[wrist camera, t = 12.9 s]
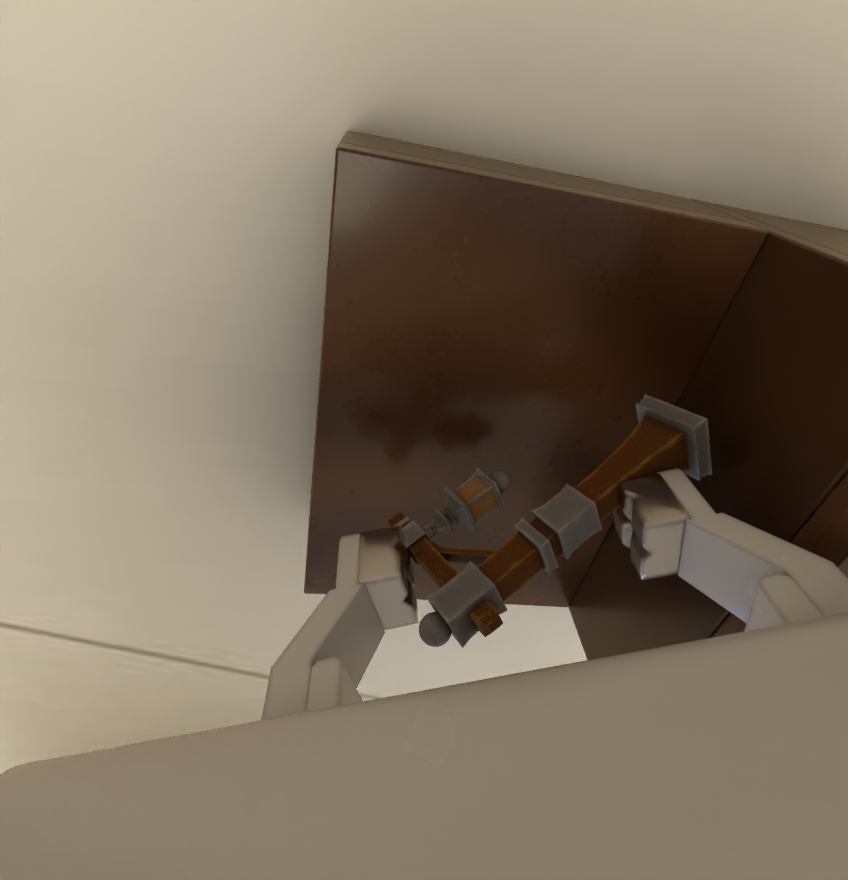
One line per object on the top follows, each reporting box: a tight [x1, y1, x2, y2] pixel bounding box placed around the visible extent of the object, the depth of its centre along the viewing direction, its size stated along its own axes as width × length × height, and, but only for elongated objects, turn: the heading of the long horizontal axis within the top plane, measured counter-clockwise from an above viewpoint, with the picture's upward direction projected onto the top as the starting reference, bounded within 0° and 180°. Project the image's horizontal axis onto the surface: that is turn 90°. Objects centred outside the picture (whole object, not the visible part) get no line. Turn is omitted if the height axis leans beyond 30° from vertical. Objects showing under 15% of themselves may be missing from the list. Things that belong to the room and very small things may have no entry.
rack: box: [304, 131, 848, 660], centre depth 15 cm, size 14×16×10 cm
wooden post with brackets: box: [386, 394, 712, 647], centre depth 13 cm, size 2×8×4 cm, turn 112°
